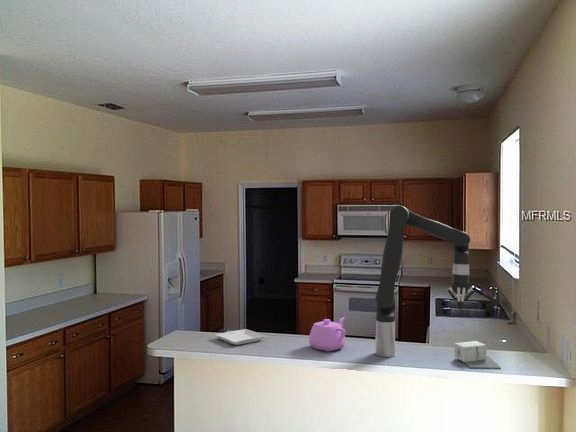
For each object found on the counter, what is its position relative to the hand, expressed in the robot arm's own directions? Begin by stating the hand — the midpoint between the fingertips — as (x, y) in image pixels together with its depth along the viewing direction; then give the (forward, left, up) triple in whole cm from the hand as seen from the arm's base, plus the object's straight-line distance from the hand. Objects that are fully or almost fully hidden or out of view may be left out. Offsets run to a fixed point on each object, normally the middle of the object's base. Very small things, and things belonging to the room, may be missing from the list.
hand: (459, 308), depth 235 cm
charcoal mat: (+8, -3, -25) cm, 26 cm away
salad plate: (-113, +27, -26) cm, 119 cm away
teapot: (-64, +16, -25) cm, 70 cm away
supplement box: (-1, -1, -21) cm, 21 cm away
